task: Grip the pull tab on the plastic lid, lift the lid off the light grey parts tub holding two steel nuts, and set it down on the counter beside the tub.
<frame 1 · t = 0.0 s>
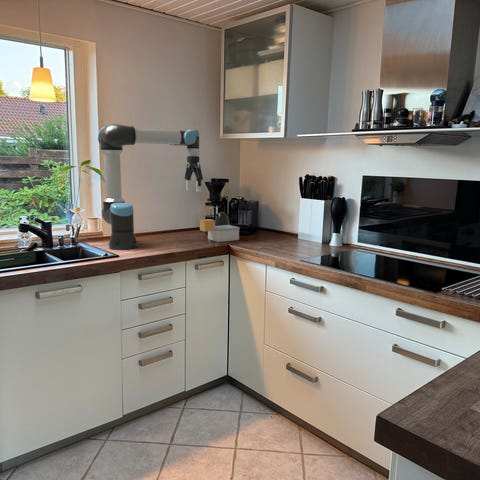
hand: (193, 191, 269), 28 cm above the worktop, tool pointing down, fingers open, 13 cm apart
nut b: (229, 239, 257), point 1 cm above the worktop, touching tub
tub: (223, 240, 257), on the worktop
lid: (223, 229, 256), point 7 cm above the worktop, touching tub
nut a: (217, 239, 257), point 1 cm above the worktop, touching tub
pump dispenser: (221, 236, 275), on the worktop
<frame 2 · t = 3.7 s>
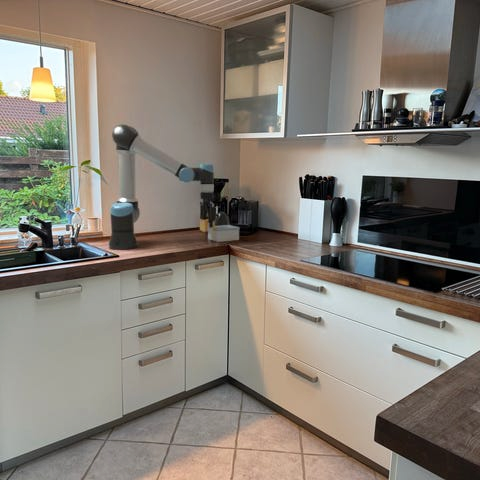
hand: (207, 232, 250), 6 cm above the worktop, tool pointing down, fingers closed on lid, 6 cm apart
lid: (223, 229, 256), point 7 cm above the worktop, touching gripper, tub
everything else where it was.
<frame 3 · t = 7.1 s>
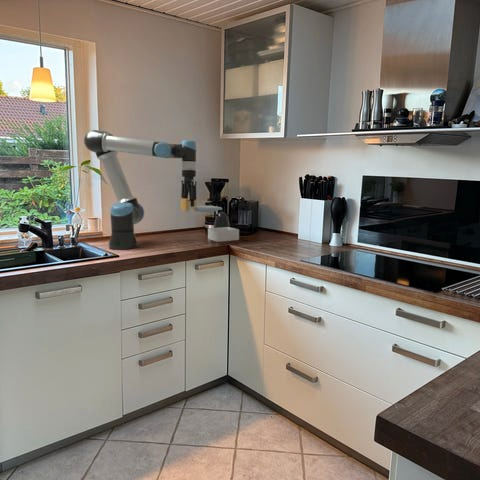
hand: (188, 211, 243), 18 cm above the worktop, tool pointing down, fingers closed on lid, 6 cm apart
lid: (205, 209, 248), point 19 cm above the worktop, touching gripper
everything else where it was.
when the fingers open (2 cm above the worktop, at t = 10.5 s): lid drops 2 cm, point 1 cm above the worktop.
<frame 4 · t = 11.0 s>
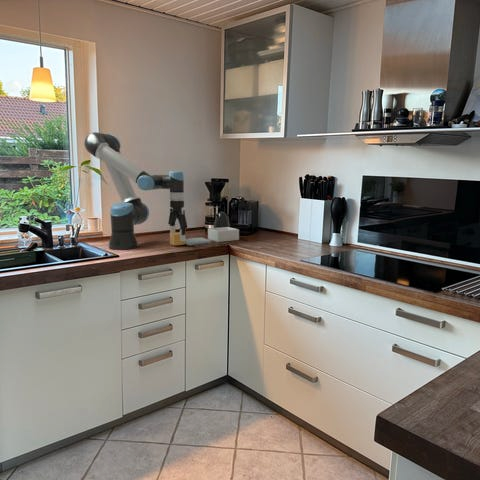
hand: (177, 239, 241), 4 cm above the worktop, tool pointing down, fingers open, 12 cm apart
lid: (194, 242, 247), point 1 cm above the worktop
everything else where it was.
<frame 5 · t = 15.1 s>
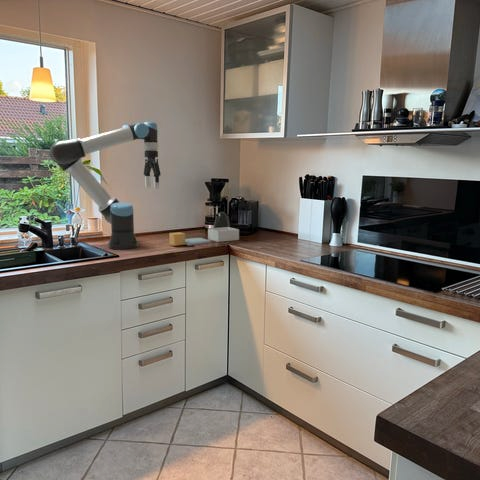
hand: (152, 187, 253), 31 cm above the worktop, tool pointing down, fingers open, 13 cm apart
nothing on the worktop moved.
at the end: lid touching worktop; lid inside the target area (1.0 cm from its centre), point 0.9 cm above the worktop; the gripper is holding nothing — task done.
